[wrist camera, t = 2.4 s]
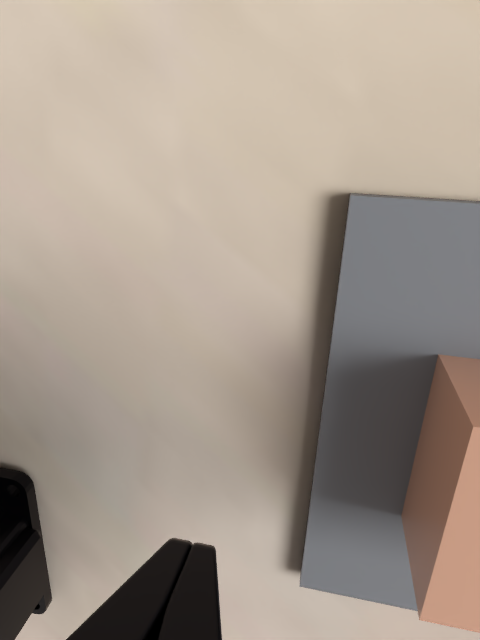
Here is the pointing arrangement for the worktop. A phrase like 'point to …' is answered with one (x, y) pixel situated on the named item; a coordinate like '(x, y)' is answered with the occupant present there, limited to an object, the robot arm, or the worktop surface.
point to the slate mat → (386, 383)
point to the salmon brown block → (447, 499)
